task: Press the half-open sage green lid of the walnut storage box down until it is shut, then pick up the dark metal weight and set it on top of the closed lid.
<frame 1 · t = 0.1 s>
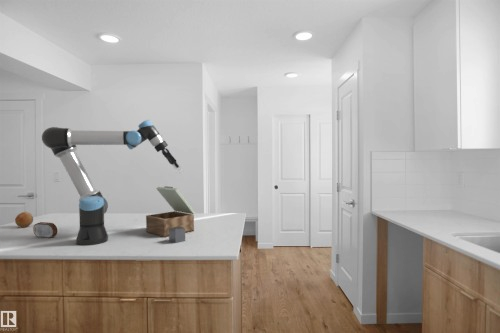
hand: (180, 171, 192), 36 cm above the countertop, fingers open, 13 cm apart
metal weight: (177, 241, 164), on the countertop
onion: (24, 227, 205), on the countertop
storage box: (170, 231, 186), on the countertop
lid: (176, 199, 189), point 19 cm above the countertop, hinge at 50.0°
tin: (45, 237, 176), on the countertop
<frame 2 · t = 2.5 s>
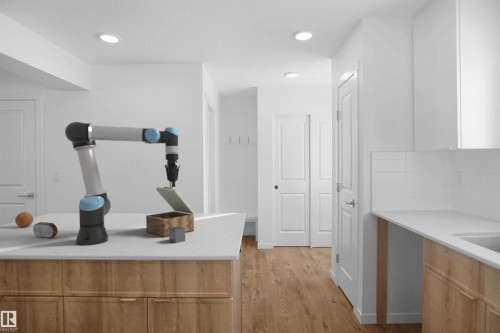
hand: (172, 192, 187), 23 cm above the countertop, fingers closed
lid: (176, 199, 189), point 19 cm above the countertop, hinge at 48.5°, touching gripper
everything else where it was.
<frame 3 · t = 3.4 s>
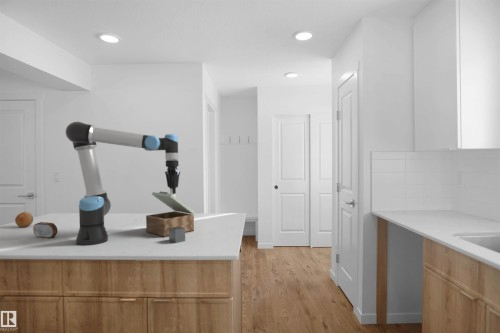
hand: (173, 199, 188), 19 cm above the countertop, fingers closed
lid: (173, 202, 188), point 17 cm above the countertop, hinge at 36.9°, touching gripper
everything else where it was.
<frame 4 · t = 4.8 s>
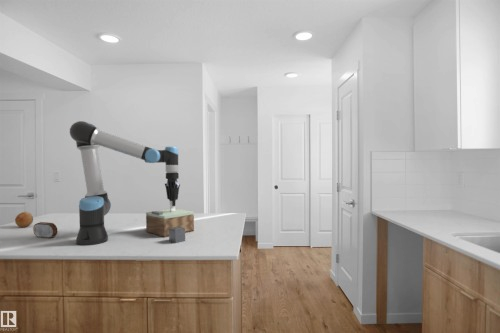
hand: (172, 211, 187), 12 cm above the countertop, fingers closed
lid: (169, 212, 186), point 12 cm above the countertop, hinge at -0.1°, touching gripper
everything else where it was.
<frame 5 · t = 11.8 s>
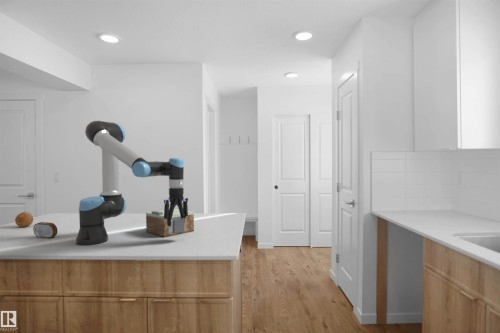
hand: (176, 230, 164), 5 cm above the countertop, fingers closed on metal weight, 6 cm apart
metal weight: (176, 231, 164), point 5 cm above the countertop, touching gripper
lid: (169, 212, 186), point 12 cm above the countertop, hinge at -0.1°
everything else where it was.
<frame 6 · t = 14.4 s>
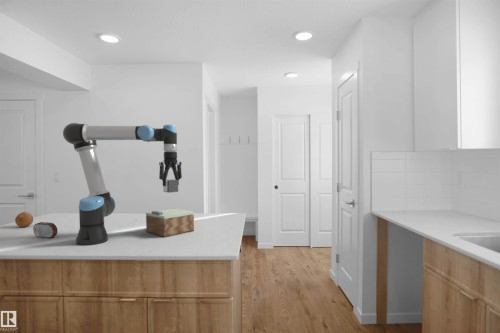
hand: (170, 191, 181), 25 cm above the countertop, fingers closed on metal weight, 6 cm apart
metal weight: (170, 191, 181), point 24 cm above the countertop, touching gripper
everything else where it was.
when the fingers open (12 cm above the countertop, at t = 17.5 s): metal weight stays where it is, resting on lid.
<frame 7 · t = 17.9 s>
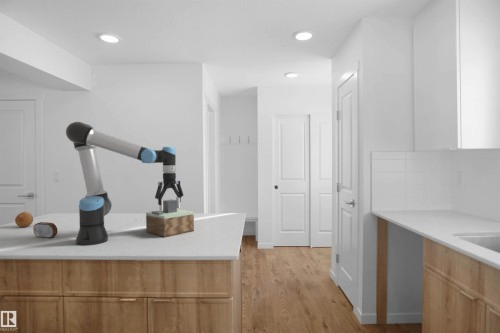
hand: (169, 209, 186), 13 cm above the countertop, fingers open, 11 cm apart
metal weight: (169, 212, 186), point 12 cm above the countertop, touching lid
lid: (169, 212, 186), point 12 cm above the countertop, hinge at -0.1°, touching metal weight
everything else where it was.
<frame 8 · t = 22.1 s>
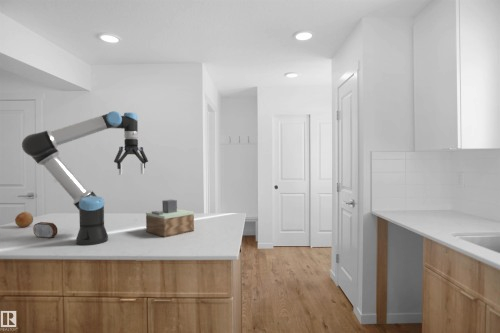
hand: (131, 174, 186), 35 cm above the countertop, fingers open, 13 cm apart
nothing on the countertop moved.
at the end: lid at +0° (first picture: +50°); metal weight inside the target area on the storage box (0.1 cm from its centre), point 11.8 cm above the storage box's base; metal weight tilted 0° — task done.
